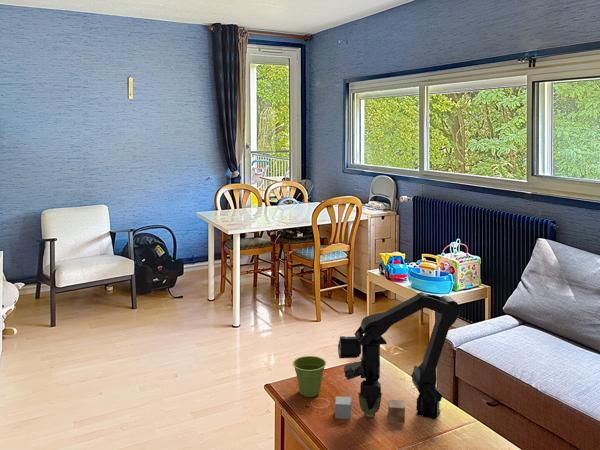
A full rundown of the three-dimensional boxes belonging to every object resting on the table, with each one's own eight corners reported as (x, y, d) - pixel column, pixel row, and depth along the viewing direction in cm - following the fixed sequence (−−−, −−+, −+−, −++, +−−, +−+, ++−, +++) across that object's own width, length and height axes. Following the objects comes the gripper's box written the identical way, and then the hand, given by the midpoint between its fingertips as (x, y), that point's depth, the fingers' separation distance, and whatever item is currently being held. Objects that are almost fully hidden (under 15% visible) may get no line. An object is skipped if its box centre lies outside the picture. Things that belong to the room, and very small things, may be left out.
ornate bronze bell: (375, 424, 166) (375, 400, 165) (354, 418, 170) (354, 395, 168) (384, 414, 172) (385, 391, 171) (364, 408, 176) (364, 385, 175)
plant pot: (287, 389, 190) (287, 359, 188) (316, 382, 195) (316, 353, 193) (302, 403, 179) (302, 372, 177) (332, 396, 184) (332, 365, 182)
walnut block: (403, 414, 172) (404, 400, 171) (404, 422, 167) (405, 408, 166) (388, 413, 173) (388, 399, 172) (388, 421, 168) (389, 407, 167)
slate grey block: (351, 411, 174) (351, 397, 173) (350, 419, 169) (350, 404, 168) (336, 410, 175) (336, 396, 174) (335, 418, 170) (335, 403, 169)
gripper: (346, 344, 178) (346, 387, 180) (344, 367, 160) (343, 415, 162) (380, 345, 176) (379, 389, 179) (381, 369, 158) (380, 418, 161)
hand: (370, 402), depth 170 cm, fingers open, 9 cm apart
